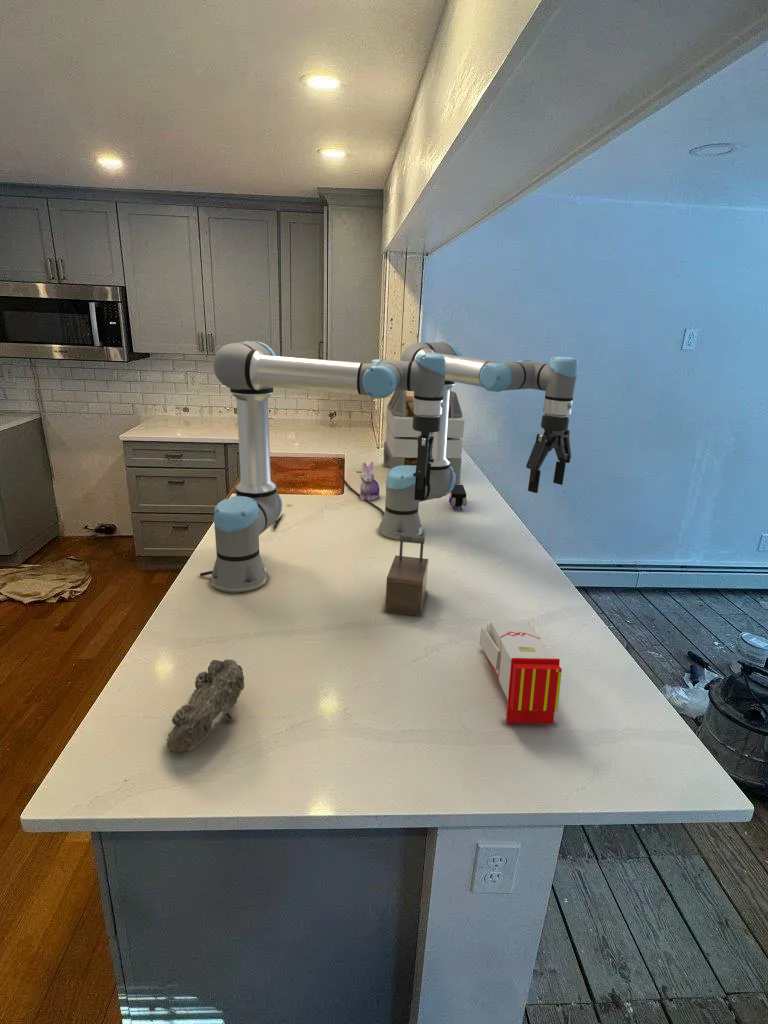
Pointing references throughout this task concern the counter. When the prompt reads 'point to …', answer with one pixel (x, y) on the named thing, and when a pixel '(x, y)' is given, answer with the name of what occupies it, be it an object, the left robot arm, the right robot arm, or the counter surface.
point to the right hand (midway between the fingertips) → (545, 487)
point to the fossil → (206, 705)
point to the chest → (405, 597)
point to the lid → (408, 564)
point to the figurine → (368, 484)
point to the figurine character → (458, 497)
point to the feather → (277, 521)
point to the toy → (523, 670)
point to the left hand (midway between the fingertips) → (422, 492)
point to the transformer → (419, 433)
